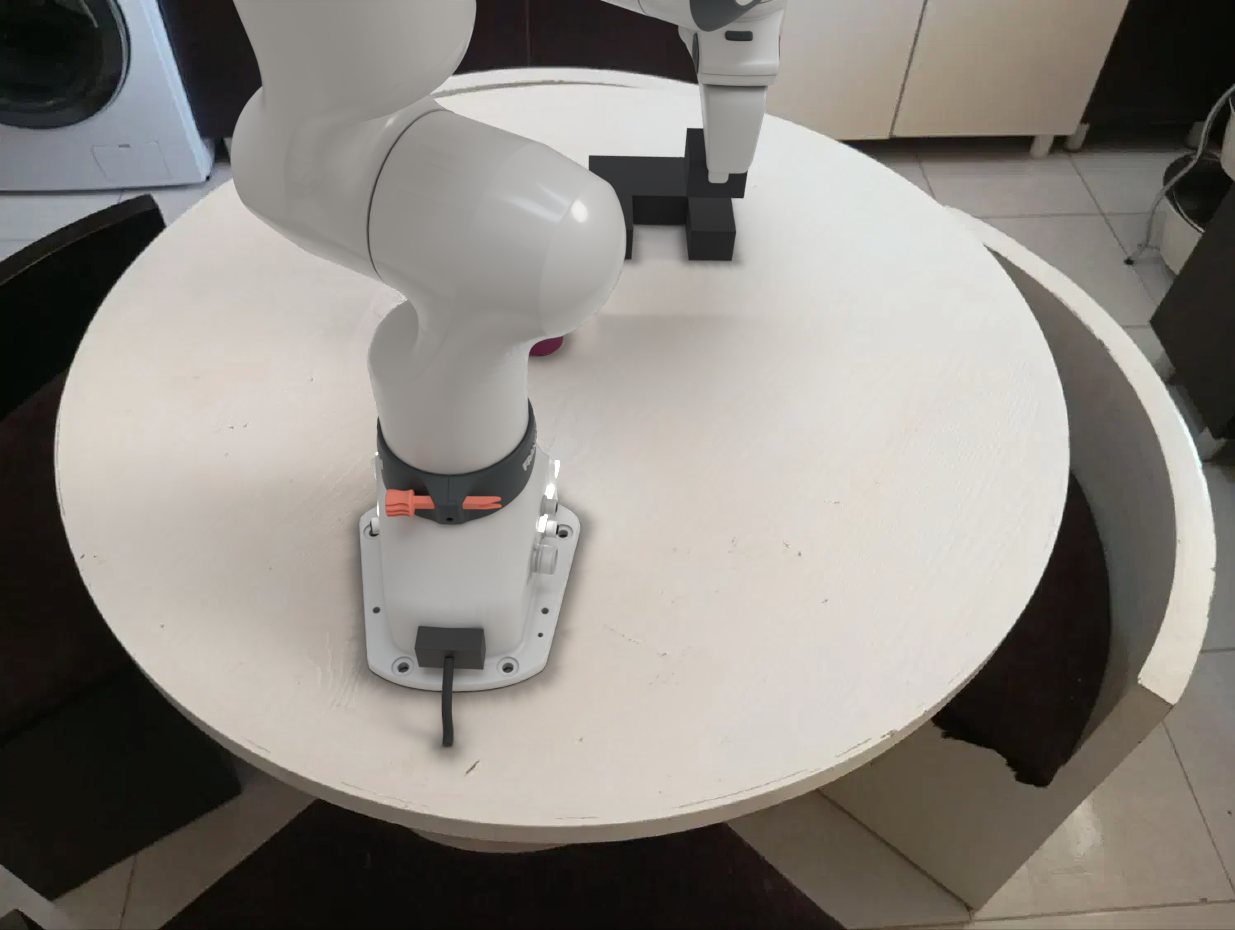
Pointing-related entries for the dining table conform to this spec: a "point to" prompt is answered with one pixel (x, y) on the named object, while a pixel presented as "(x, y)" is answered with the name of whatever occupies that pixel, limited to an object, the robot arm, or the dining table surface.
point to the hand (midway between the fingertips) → (714, 157)
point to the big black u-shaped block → (668, 203)
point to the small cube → (698, 172)
